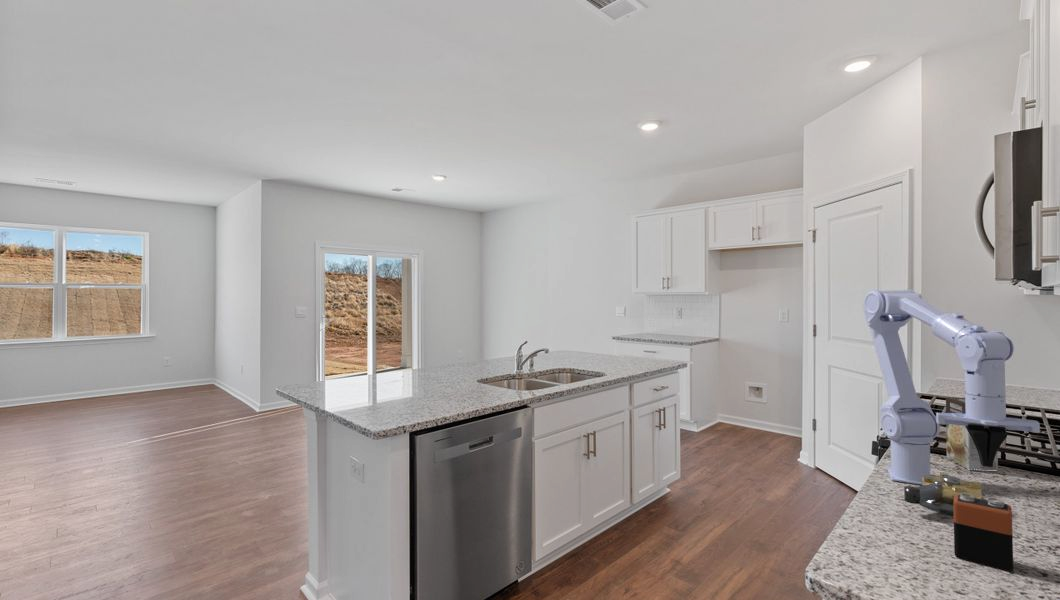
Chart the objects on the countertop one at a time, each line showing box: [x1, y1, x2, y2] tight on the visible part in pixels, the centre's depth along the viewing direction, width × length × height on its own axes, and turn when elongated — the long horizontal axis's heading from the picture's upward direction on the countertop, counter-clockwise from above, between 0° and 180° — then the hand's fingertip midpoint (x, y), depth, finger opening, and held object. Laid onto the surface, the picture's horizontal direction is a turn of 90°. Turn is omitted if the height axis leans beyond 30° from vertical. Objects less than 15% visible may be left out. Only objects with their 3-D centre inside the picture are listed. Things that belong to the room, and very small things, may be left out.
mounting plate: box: [919, 497, 987, 517], centre depth 99 cm, size 12×12×2 cm
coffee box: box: [945, 397, 999, 472], centre depth 121 cm, size 9×6×16 cm
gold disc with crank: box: [903, 472, 983, 505], centre depth 97 cm, size 17×9×4 cm, turn 110°
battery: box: [953, 493, 1014, 572], centre depth 78 cm, size 4×7×10 cm, turn 47°
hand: (986, 465), depth 95 cm, fingers closed
